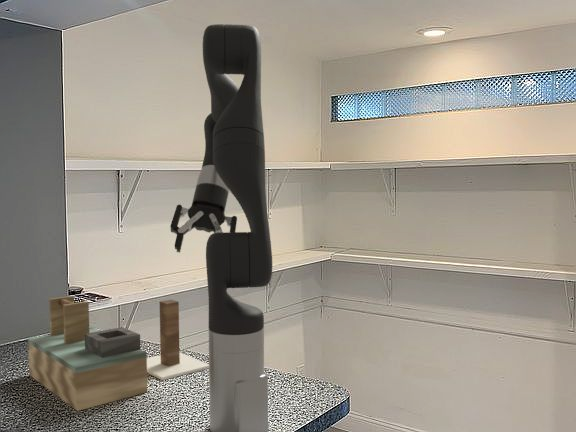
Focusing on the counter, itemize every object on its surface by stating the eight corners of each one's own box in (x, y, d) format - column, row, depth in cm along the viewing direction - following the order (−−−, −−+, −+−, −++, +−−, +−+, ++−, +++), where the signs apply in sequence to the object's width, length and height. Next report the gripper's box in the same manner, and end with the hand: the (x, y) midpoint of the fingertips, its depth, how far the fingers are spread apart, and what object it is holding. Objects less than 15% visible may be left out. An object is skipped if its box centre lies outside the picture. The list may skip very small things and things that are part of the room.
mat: (210, 367, 132) (210, 365, 132) (162, 380, 124) (162, 377, 124) (177, 353, 142) (177, 351, 142) (130, 364, 134) (130, 361, 134)
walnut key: (179, 363, 133) (178, 301, 132) (168, 366, 131) (166, 303, 130) (172, 360, 135) (171, 299, 134) (160, 363, 133) (159, 301, 132)
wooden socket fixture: (147, 392, 117) (145, 311, 116) (77, 411, 108) (74, 324, 107) (92, 361, 137) (90, 292, 136) (29, 375, 127) (26, 301, 126)
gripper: (181, 175, 133) (164, 243, 126) (244, 188, 134) (231, 256, 127) (181, 190, 139) (165, 254, 133) (241, 202, 141) (228, 266, 134)
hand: (197, 255), depth 130 cm, fingers open, 8 cm apart
